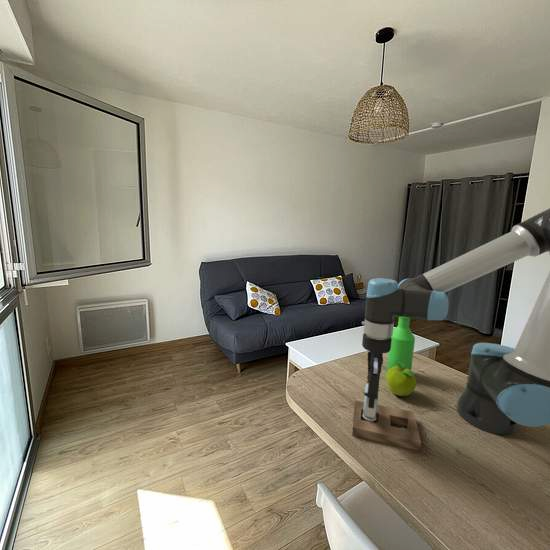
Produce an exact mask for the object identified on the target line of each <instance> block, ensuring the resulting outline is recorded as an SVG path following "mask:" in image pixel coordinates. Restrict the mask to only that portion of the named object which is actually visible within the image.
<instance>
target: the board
mask: <svg viewBox="0 0 550 550" xmlns="http://www.w3.org/2000/svg"><path fill="white" fill-rule="evenodd" d="M363 409H364V401H361V400H357V399H356V400H354V406H353V418H352V420H353V421H352V431H351V432H352V433H351V434H352V436H354V437H356V438H357V437H358V438H363V439H365V440H369V441H374V442H375V441H376V442H379V443H383V444H387V445H393V446H395V447H396V446H397V447H401V448H406V449H410V450H413V451H418V452H421V448H422V441H421V436H420V433H419V428H418V425H417V421H416V420H417V419H416V416H415V412H414V411H412V410H411V411H410V410H407V409H401V408H395V407H391V406H385V405H381V404H380V405H379V404H377V413H376V421H377V422H376V423H374V422H369V421H364V420H363V419H362V418H363ZM391 424H394V425H399V426H403V427H407V429H406V428H401V427H396V426H392V425H391Z"/></svg>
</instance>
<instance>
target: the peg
mask: <svg viewBox="0 0 550 550" xmlns="http://www.w3.org/2000/svg"><path fill="white" fill-rule="evenodd" d="M379 391H380V388H378V393H379ZM367 392H368V383H367V382H366V384H365V389H364V394H365V393H367ZM366 397H367V396H365V395H364V400H363V402H364V409H363V417H362V420H364V421H369V422H374V423H377V422H376V421H377V420H376V413H377V405H378V400H379V398H378V399H377V402H376V412H375V418H373V417H368V416H365V407H366Z"/></svg>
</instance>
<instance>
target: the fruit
mask: <svg viewBox="0 0 550 550" xmlns="http://www.w3.org/2000/svg"><path fill="white" fill-rule="evenodd" d="M396 364H397V365H398V366H394V367H392V368H391V369H389V370H388V371H386V373H385V380H386V383H387V386H388V388H389V389H390V391H391V392H392V393H393V394H394V395H396V396H399V397H406V396H409V395H411V393H413V392H414V391H415V389H416V386H417V379H416V376H415V374H414V372H413V370H412V369H411V370H409V369H407V368H405V365H404V363H402V362H396Z"/></svg>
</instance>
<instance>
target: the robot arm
mask: <svg viewBox="0 0 550 550" xmlns="http://www.w3.org/2000/svg"><path fill="white" fill-rule="evenodd" d="M547 252H548V255H549V256H550V208H547V209H546V210H543V211H542V212H539V213H537V214H535V215H533V216H532V217H529V218H528V219H525V220H523V221H521V222H520V223H518V224H515V225H513V227H512V228H511V230H510V231H509V232H508V233H505V234H503V235H501V236H499V237H497V238H494V239H493V240H491V241H489V242H487V243H486V242H485V243H484V244H482V245H480V246H479V247H476V248H474V249H472V250H470V251H468V252H466V253H464V254H461V255H459V256H458V257H455V258H453V259H451V260H448V261H447V262H445V263H443V264H441V265H439V266H437V267H434V268H433V269H431V270H428V271H426V272H424V273H422V274H420V275H418V276H416V277H414V278H410V277H409V278H405V279H403V280H401V281H400V282H399V283H398V282H397V281H396V280H394V279H390V278H385V277H377V278H372V279H369V281H368V283H367V289H366V295H365V307H364V308H365V310H364V321H361V325H363V334H362V340H361V341H362V342H361V343H362V344H361V346H362V347H363V349H364V350H366V351H367V377H366V379H367V381H366V384H367V383H368V392H367V393H365V392H364V397H365V396H367V397H366V407H365V416H368V417H373V418H375V412H376V402H377V399H378V400H379V392H378V388H379V387H380V386H379V385H380V379H381V377H380V376H381V373H382V365H383V364H384V357H383V355H384V354H386V353H387V354H388V352H389V351H390V350H391V342H392V338H391V337H392V335H393V330H394V324H395V317H398V318H399V317H408V318H410V319H418V320H427V321H443V320H445V319H446V317H447V315H448V312H449V298H448V295H447V294H446V293H447V292H449V291H451V290H454V289H456V288H458V287H461V286H463V285H465V284H467V283H470V282H472V281H474V280H476V279H479V278H480V277H483V276H485V275H487V274H489V273H490V274H491V273H492V272H495V271H497V270H498V269H499V270H500V269H501V268H503V267H505V266H507V265H510V264H513V263H514V262H517V261H519V260H521V259H523V258H525V257H526V258H527V257H528V256H529V257H538V256H540V255H542V254H545V253H547ZM470 355H471V356H470V360H469V361H470V362H469V367H468V375H467V382H466V387H465V388H464V389H463V392H462V393H461V394H460V396H459V398H458V399H457V403H456V408H455V410H456V413H457V414H458V415H459V417H461V418H462V419H463V420H465V421H466V422H467V423H468V424H469V425H471V426H473V427H475V428H478V429H480V430H483V431H486V432H488V433H492V434H497V435H512V434H514V433H516V432H517V430H518V426H519V425H521V426H523V427H529V428H530V427H531V428H532V427H533V428H536V427H537V428H539V427H543V426H548V425H550V271H549V272H548V274H547V277H546V279H545V281H544V283H543V286H542V287H541V290H540V291H539V294H538V297H537V299H536V300H535V303H534V305H533V308H532V309H531V312H530V315H529V317H528V318H527V321H526V324H525V325H524V328H523V330H522V332H521V335H520V337H519V338H518V341H517V343H516V346H515V347H510V346H507V345H503V344H498V343H491V342H490V343H489V342H477V343H475V344H473V346H472V351H471V352H470ZM379 389H380V388H379ZM377 403H378V402H377Z"/></svg>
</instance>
